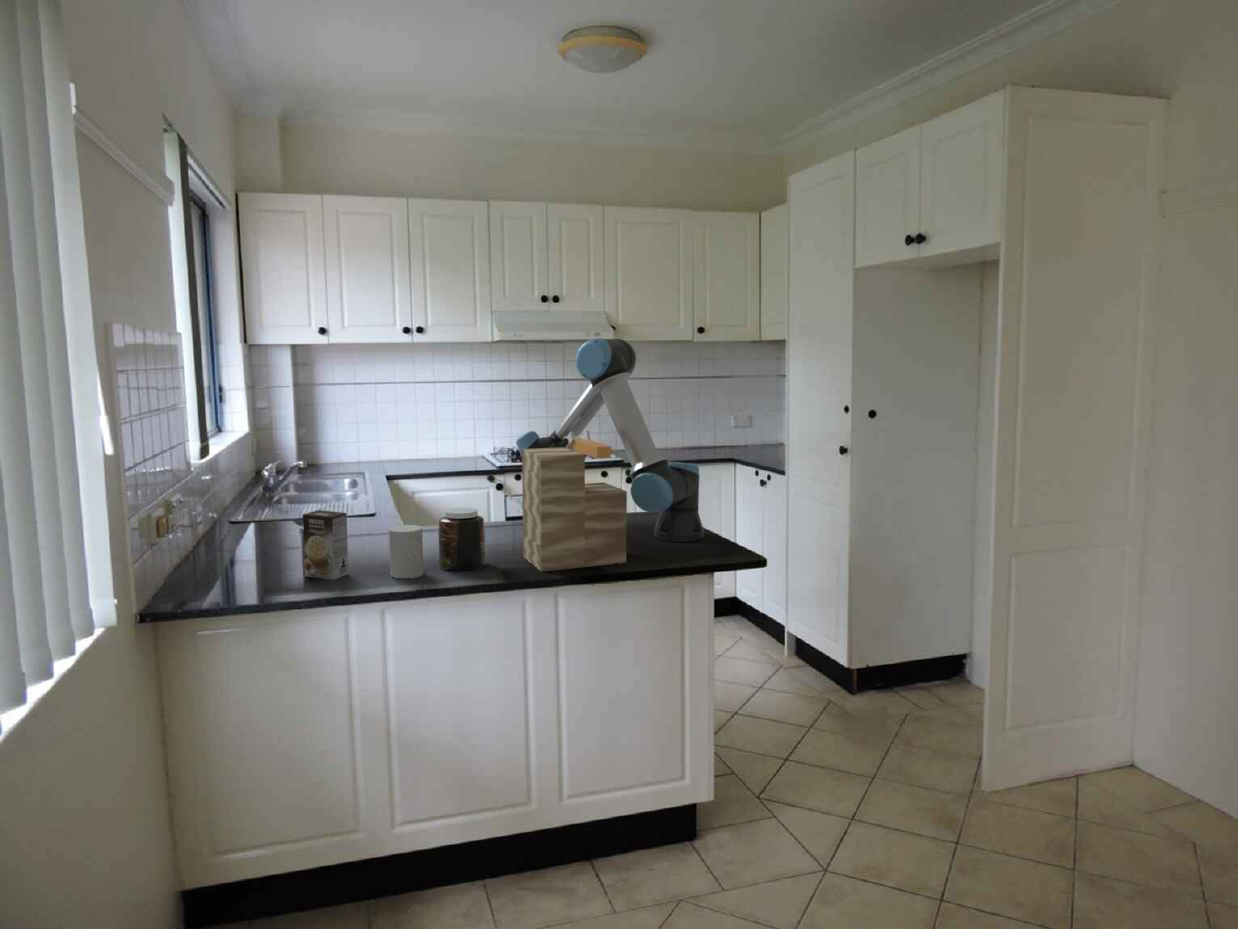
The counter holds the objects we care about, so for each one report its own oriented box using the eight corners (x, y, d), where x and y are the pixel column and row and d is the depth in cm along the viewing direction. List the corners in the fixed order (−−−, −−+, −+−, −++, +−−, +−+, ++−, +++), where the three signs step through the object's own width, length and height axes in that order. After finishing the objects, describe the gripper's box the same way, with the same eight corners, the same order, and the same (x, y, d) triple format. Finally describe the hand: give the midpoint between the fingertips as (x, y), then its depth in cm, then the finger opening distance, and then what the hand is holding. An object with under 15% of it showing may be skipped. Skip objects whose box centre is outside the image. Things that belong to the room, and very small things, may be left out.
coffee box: (303, 576, 212) (300, 514, 210) (320, 570, 218) (317, 509, 216) (333, 580, 209) (331, 516, 207) (350, 574, 215) (347, 512, 213)
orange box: (610, 457, 223) (611, 446, 223) (596, 458, 222) (597, 447, 221) (576, 446, 247) (576, 436, 246) (563, 446, 245) (563, 436, 245)
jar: (463, 574, 216) (462, 516, 214) (430, 567, 222) (428, 511, 220) (493, 564, 226) (493, 509, 224) (461, 558, 232) (460, 504, 230)
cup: (414, 579, 210) (413, 532, 209) (384, 577, 212) (383, 531, 210) (428, 571, 218) (427, 525, 217) (399, 569, 220) (397, 524, 218)
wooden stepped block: (626, 562, 228) (626, 452, 224) (540, 571, 219) (539, 456, 214) (602, 548, 243) (602, 445, 239) (521, 556, 234) (520, 449, 230)
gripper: (584, 476, 260) (611, 446, 240) (531, 479, 253) (554, 448, 233) (580, 454, 262) (606, 422, 242) (527, 456, 255) (549, 424, 235)
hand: (580, 435), depth 237 cm, fingers closed on orange box, 4 cm apart
